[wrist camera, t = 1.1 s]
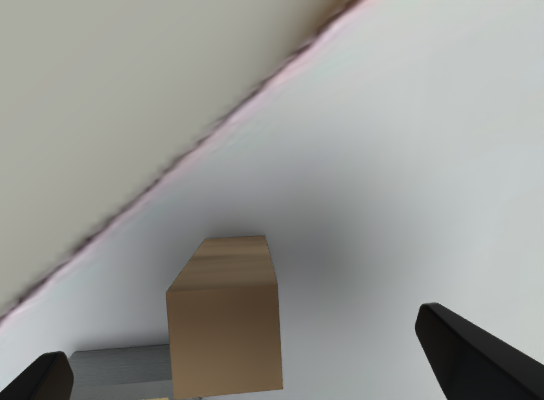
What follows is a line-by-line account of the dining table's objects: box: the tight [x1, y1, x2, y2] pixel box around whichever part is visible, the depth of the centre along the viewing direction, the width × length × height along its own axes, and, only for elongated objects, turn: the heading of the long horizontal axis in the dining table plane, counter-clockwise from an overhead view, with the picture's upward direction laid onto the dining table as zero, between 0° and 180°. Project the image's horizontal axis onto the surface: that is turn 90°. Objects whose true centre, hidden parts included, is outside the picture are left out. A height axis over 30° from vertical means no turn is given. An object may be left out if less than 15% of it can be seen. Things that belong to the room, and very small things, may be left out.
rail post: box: [166, 235, 283, 399], centre depth 17 cm, size 4×4×10 cm
